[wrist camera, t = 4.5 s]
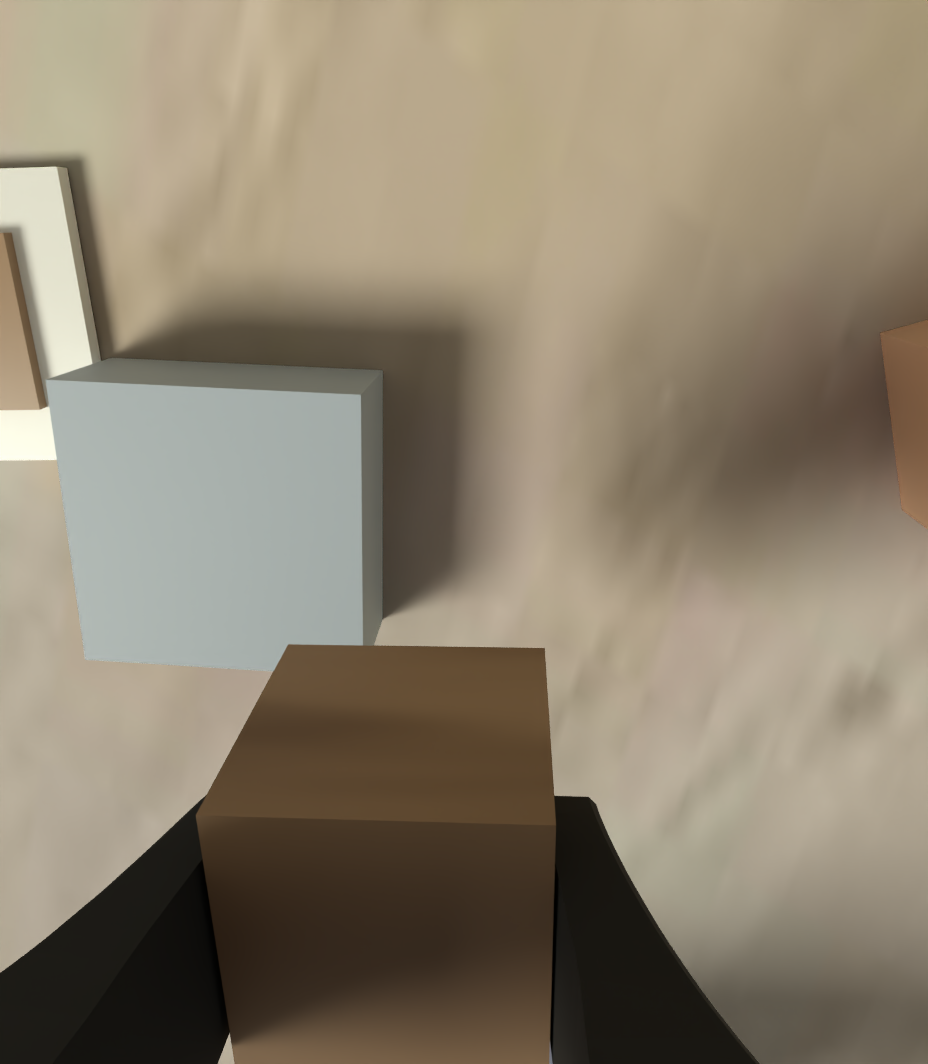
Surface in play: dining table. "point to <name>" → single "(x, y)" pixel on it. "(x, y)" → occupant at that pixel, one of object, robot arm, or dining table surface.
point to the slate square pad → (221, 508)
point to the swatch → (39, 305)
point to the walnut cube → (387, 859)
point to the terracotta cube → (909, 412)
